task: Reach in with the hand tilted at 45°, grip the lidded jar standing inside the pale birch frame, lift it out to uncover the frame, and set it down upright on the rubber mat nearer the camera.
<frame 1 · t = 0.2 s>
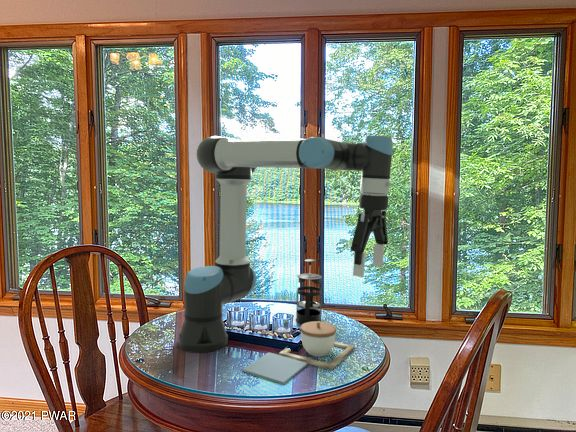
hand: (368, 271, 112), 27 cm above the table, tool pointing down, fingers open, 13 cm apart
birch frame: (317, 351, 123), on the table
lidded jar: (317, 352, 123), resting in birch frame
rubber mat: (275, 368, 112), on the table
french press: (308, 321, 151), on the table
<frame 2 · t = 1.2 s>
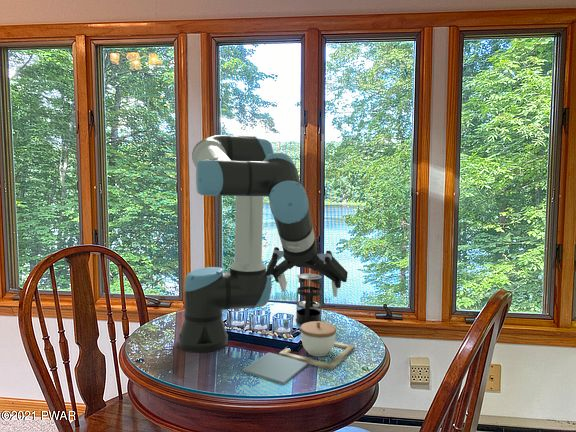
hand: (309, 289, 106), 23 cm above the table, tool tilted 45°, fingers open, 13 cm apart
nothing on the table moved.
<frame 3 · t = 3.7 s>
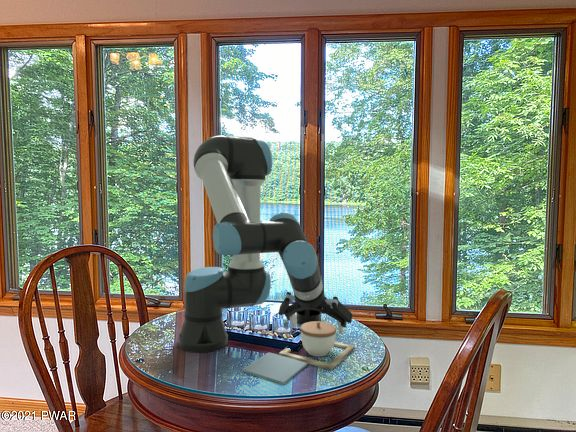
hand: (318, 327, 117), 10 cm above the table, tool tilted 45°, fingers open, 13 cm apart
nothing on the table moved.
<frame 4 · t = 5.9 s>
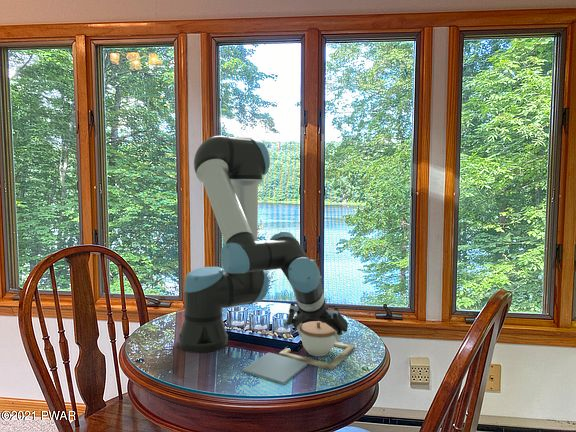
hand: (319, 335, 126), 4 cm above the table, tool tilted 45°, fingers closed on lidded jar, 11 cm apart
lidded jar: (317, 352, 123), resting in birch frame, touching gripper
everything else where it was.
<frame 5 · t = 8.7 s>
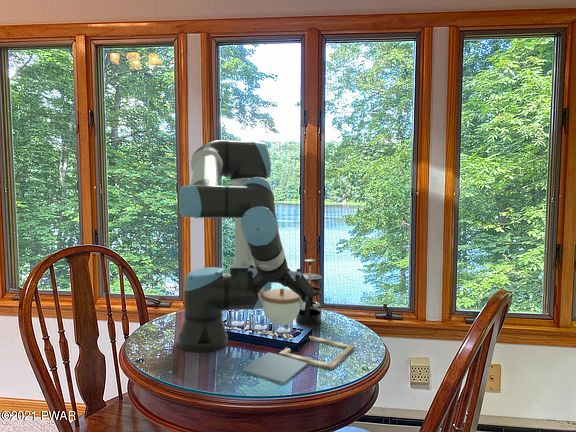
hand: (284, 303, 114), 17 cm above the table, tool tilted 45°, fingers closed on lidded jar, 11 cm apart
lidded jar: (281, 322, 112), point 13 cm above the table, touching gripper
everything else where it was.
when the fingers open (6 cm above the table, at t = 11.5 s): lidded jar drops 1 cm, resting on rubber mat.
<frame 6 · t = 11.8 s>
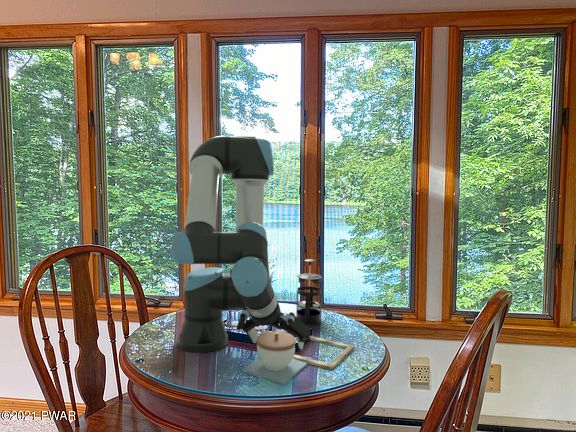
hand: (278, 341, 114), 7 cm above the table, tool tilted 45°, fingers open, 13 cm apart
lidded jar: (275, 366, 112), point 1 cm above the table, touching rubber mat
everything else where it was.
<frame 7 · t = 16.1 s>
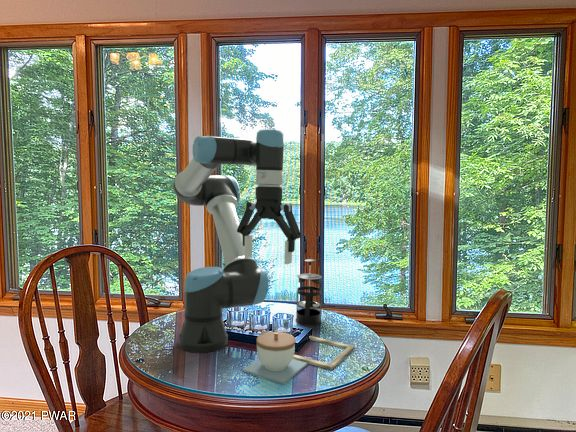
hand: (267, 260, 116), 29 cm above the table, tool pointing down, fingers open, 13 cm apart
nothing on the table moved.
at the end: lidded jar inside the target area on the rubber mat (0.1 cm from its centre), point 0.4 cm above the rubber mat's base; lidded jar tilted 0°; the gripper is holding nothing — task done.
